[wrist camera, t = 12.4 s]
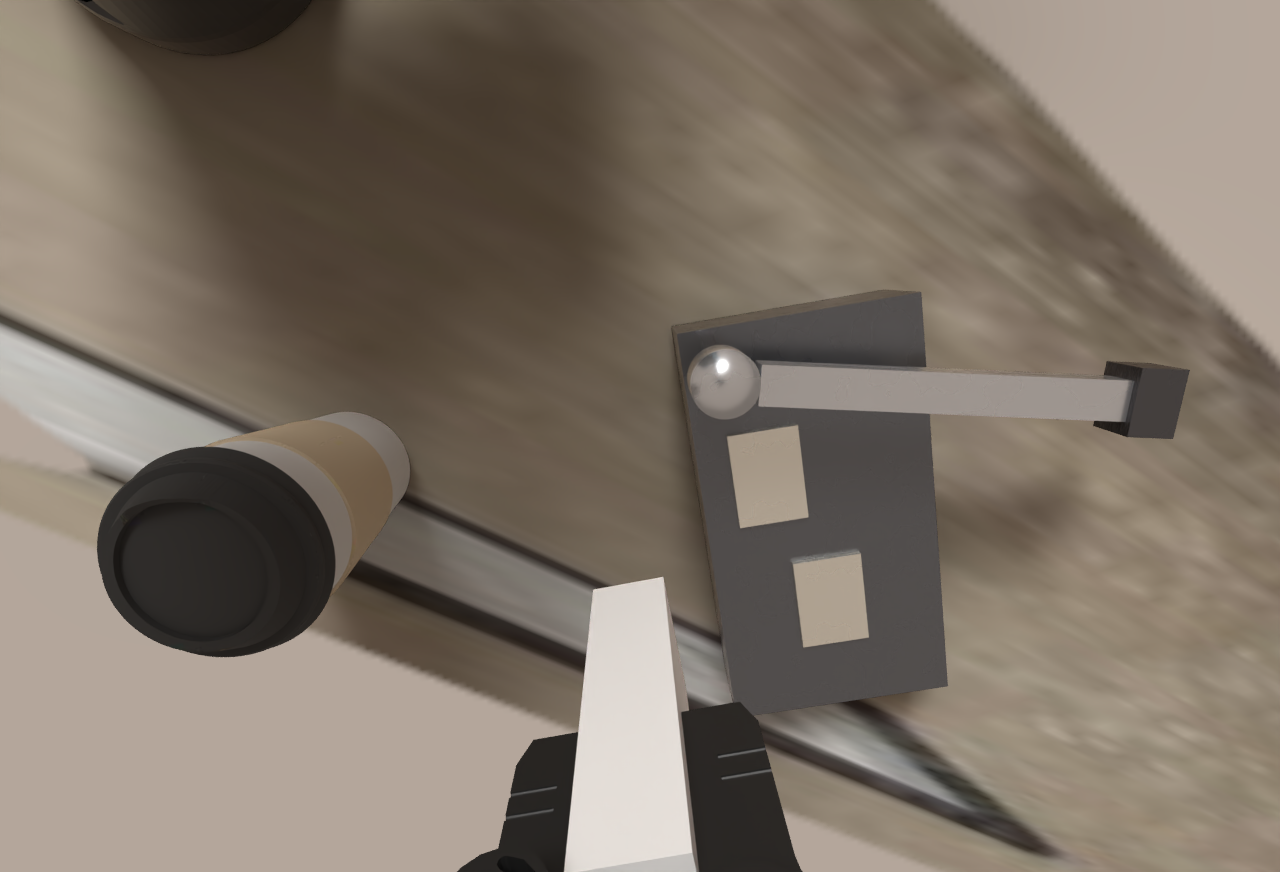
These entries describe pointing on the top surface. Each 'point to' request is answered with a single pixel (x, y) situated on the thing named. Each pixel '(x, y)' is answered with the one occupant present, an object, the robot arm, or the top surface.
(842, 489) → the lever switch
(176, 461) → the coffee cup
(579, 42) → the top surface
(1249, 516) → the top surface
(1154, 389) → the grey long bar
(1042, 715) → the top surface
